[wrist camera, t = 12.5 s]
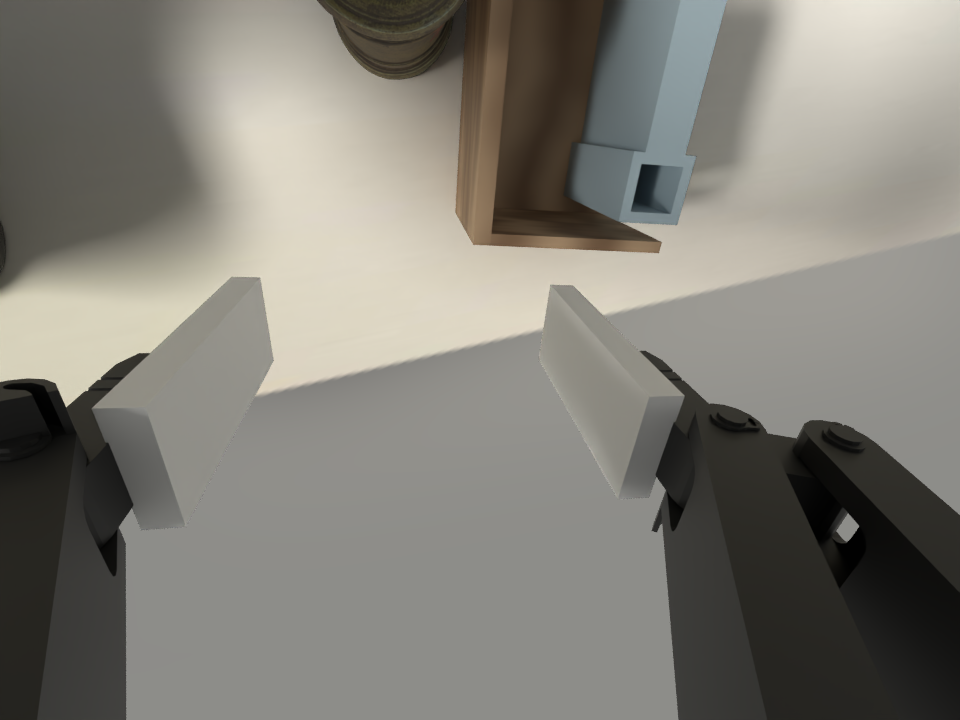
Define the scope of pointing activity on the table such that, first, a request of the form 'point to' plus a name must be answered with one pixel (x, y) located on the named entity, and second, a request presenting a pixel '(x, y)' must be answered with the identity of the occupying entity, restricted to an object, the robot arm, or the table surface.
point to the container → (393, 32)
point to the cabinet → (529, 127)
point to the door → (643, 108)
